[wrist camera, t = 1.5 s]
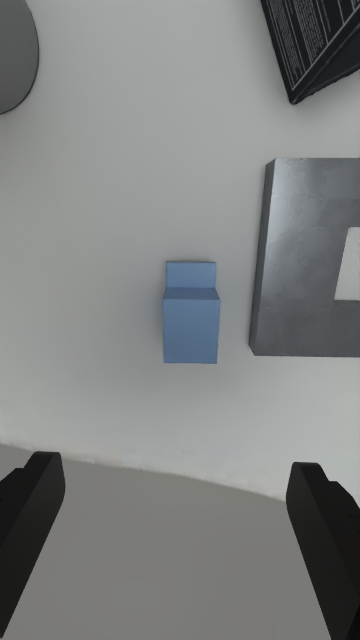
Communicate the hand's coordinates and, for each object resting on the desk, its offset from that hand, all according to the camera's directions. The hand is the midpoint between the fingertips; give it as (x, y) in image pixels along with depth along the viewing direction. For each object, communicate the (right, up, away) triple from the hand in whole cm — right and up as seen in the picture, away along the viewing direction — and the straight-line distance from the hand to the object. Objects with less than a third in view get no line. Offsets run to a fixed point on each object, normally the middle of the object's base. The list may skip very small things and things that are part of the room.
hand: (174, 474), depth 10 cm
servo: (+1, +7, +17) cm, 18 cm away
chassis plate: (+16, +10, +15) cm, 25 cm away
